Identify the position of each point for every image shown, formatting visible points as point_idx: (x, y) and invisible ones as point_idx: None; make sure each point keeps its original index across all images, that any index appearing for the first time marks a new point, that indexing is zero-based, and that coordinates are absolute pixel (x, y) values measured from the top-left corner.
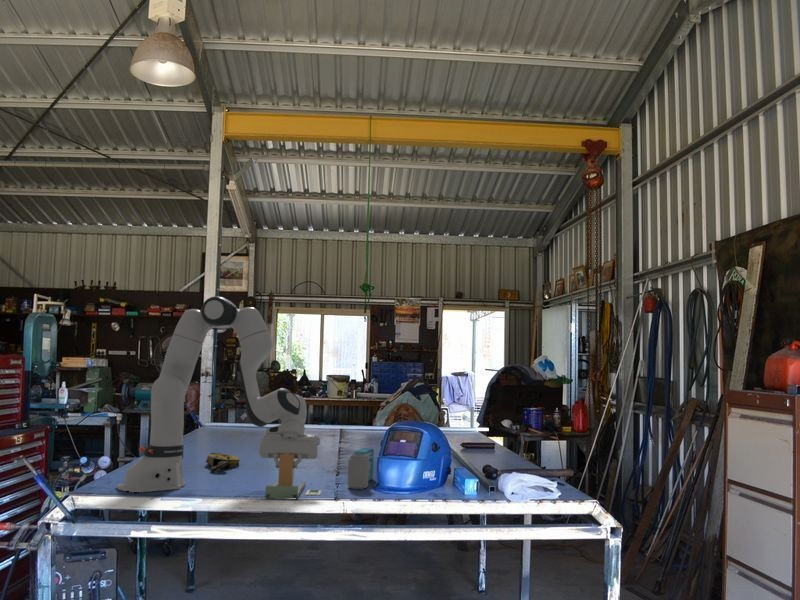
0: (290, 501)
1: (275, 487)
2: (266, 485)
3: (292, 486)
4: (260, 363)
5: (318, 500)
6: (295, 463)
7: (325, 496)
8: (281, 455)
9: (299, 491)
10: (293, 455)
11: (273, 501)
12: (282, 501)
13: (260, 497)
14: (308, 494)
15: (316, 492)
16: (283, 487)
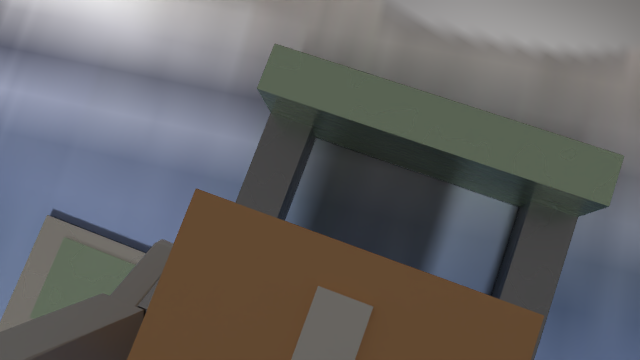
0: (366, 24)
1: (507, 123)
2: (609, 198)
3: (322, 84)
4: None
5: (129, 18)
6: None
7: (17, 165)
8: (491, 297)
9: None
10: (161, 285)
11: (513, 51)
12: (435, 37)
13: (613, 252)
14: (139, 254)
15: None
16: (421, 95)
